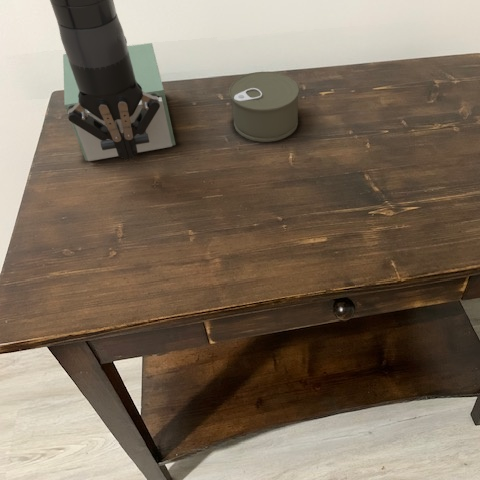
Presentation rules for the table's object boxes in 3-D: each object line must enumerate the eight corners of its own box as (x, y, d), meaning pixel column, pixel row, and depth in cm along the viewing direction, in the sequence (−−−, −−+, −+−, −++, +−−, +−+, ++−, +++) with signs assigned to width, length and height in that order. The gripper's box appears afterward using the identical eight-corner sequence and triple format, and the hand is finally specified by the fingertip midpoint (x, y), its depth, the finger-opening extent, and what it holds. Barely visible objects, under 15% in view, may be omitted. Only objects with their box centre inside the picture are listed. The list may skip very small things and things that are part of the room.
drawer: (176, 164, 87) (166, 118, 80) (89, 180, 84) (71, 134, 77) (161, 100, 99) (151, 55, 93) (84, 112, 96) (68, 67, 89)
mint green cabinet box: (175, 145, 92) (163, 89, 84) (85, 160, 88) (64, 104, 80) (163, 96, 102) (151, 42, 94) (82, 108, 98) (63, 54, 90)
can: (311, 130, 96) (311, 96, 91) (251, 150, 91) (248, 116, 86) (279, 97, 102) (277, 65, 97) (222, 115, 98) (217, 82, 93)
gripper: (42, 72, 65) (85, 180, 78) (152, 57, 68) (176, 163, 81) (43, 43, 70) (83, 149, 82) (146, 31, 73) (169, 135, 86)
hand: (129, 156), depth 82 cm, fingers closed
